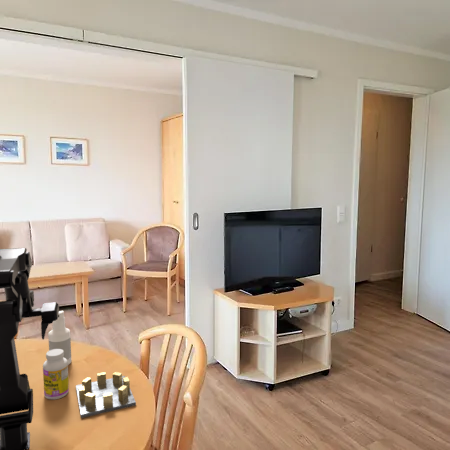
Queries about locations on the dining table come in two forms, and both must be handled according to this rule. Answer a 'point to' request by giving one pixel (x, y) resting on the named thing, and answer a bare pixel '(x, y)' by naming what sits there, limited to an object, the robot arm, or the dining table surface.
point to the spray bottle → (60, 337)
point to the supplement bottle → (55, 374)
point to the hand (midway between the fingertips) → (25, 340)
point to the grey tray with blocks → (104, 394)
